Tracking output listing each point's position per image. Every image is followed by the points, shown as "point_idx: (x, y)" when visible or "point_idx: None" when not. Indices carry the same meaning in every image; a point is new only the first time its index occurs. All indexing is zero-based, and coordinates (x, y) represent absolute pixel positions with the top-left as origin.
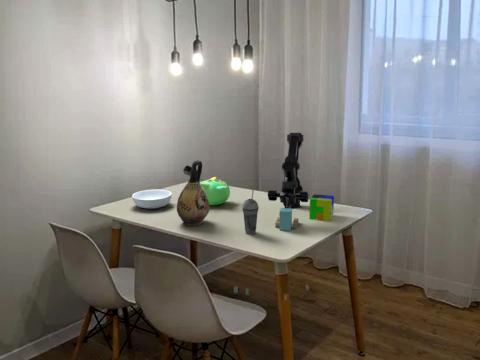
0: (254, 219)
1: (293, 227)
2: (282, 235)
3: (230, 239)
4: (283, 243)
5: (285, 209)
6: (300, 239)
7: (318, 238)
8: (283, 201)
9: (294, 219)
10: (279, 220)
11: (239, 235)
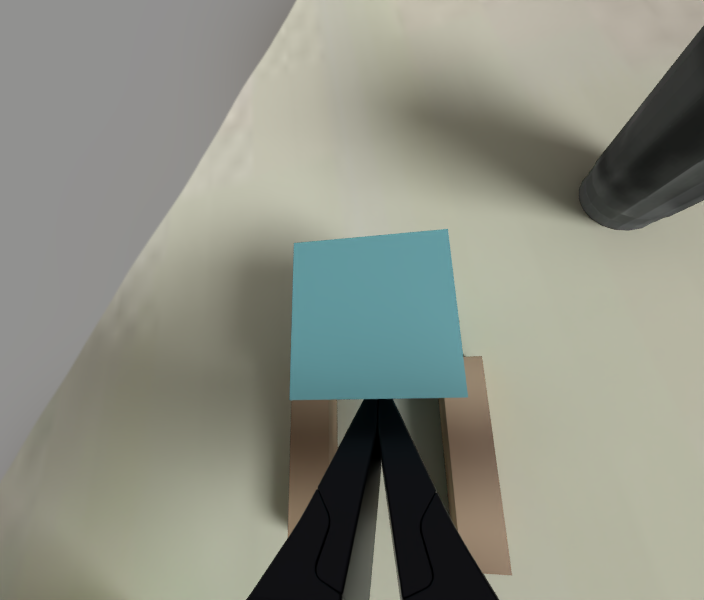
0: (680, 55)
1: None
2: (382, 209)
3: None
4: (355, 99)
5: (381, 333)
6: (271, 177)
7: (176, 217)
8: (475, 576)
9: None
10: (462, 441)
11: None
